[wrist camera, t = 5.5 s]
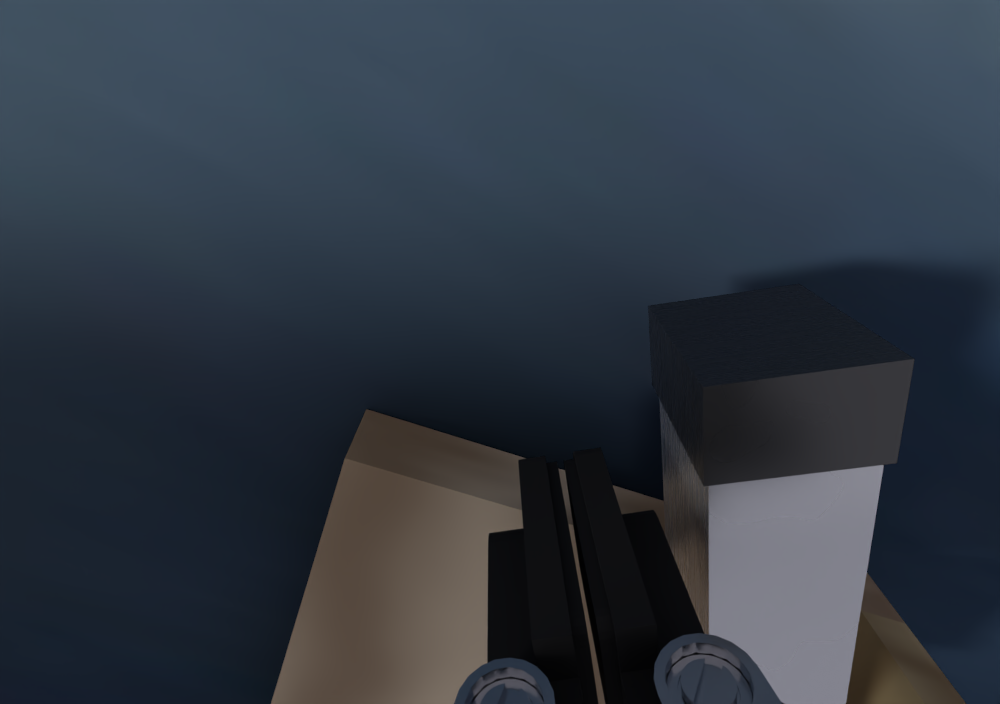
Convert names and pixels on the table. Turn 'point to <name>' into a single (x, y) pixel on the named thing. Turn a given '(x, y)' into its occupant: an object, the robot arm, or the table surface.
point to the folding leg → (776, 472)
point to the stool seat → (473, 581)
